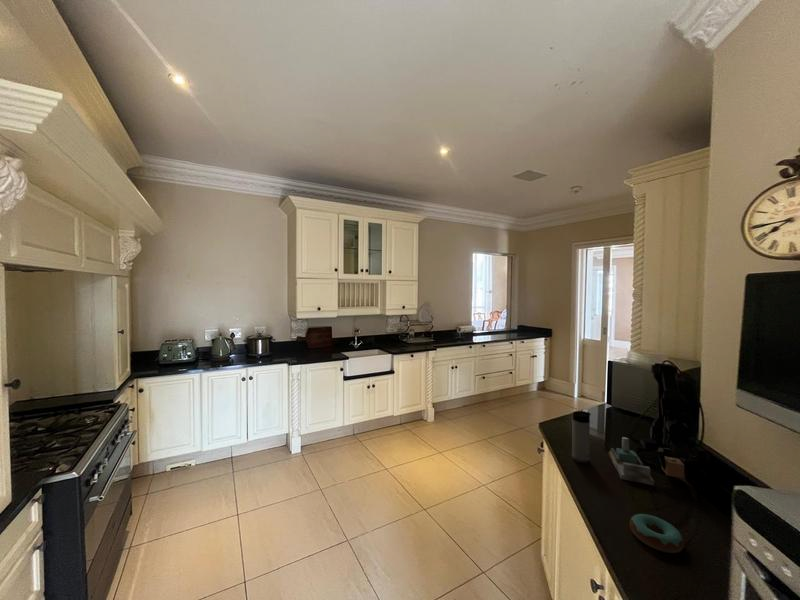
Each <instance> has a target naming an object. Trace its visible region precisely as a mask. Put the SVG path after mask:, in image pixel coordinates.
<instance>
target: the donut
mask: <svg viewBox="0 0 800 600" xmlns="http://www.w3.org/2000/svg"><path fill="white" fill-rule="evenodd" d="M629 528H630V529H631V532H632V533H633V534H634V536H635V538H637V539H638V540H639V541H640V542H642V543H643V544H644V545H647V546H648V547H650V548H652V549H654V550H657V551H660V552H662V553H666V554H667V553H668V554H676V553H680V552H682V551H683V549H684V547H685V540H684V537H683V535H682V534H681V532H680V531H679V530H678V529H677V528H676V527H675V526H674V525H673V524H671V523H670V522H667V521H665V520H664V519H662V518H660V517H657V516H655V515H651V514H647V513H638V514H634V515H633V516H631V517H630V520H629Z"/></svg>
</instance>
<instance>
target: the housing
mask: <svg viewBox="0 0 800 600" xmlns="http://www.w3.org/2000/svg"><path fill="white" fill-rule="evenodd" d="M661 470H662V471H663V472H664V474H665V475H666V476H668V477H674V478H678V479H685V470H684V464H683V463H682V462H681V461H680V458H677V457H675V458H672V457H666V456H665V470H664V469H663V468H662V467H661Z"/></svg>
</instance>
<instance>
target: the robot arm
mask: <svg viewBox="0 0 800 600" xmlns="http://www.w3.org/2000/svg"><path fill="white" fill-rule="evenodd" d="M650 368H651V369H650V370H651V371H650V372H651V374H652V377H653V379H654V380H655V382H656V384H657V416H656V418H654V420H653V421H652V425H651V426H650V429H649V436H650V438H648V437H642V438H641V439H640V445H641V446H642V447H643V448H644V450H646V451H650V452H652V453H653V454H654V455H655V456H656V457H658V459H659V462H660V465H661V469H662V468H663V469H664V470H665V456H666V457H672V458H678V459H679V460H680V461H681V462H682V463H683V464H684V471H685V470H686V468H687V466H688V465H689V464H690V463H691V462H693V461H698V460H703V461H709V460H710V455H709V452H708V451H706V450H705V449H704V448H703V447H702V446H701V445H695V444H690V443H687V441H686V440H688V439H689V438H690V436H691V430H690V429H689V427H688V425H686V421H685V420H687V421H691V418H692V416H693V415H692V414H693V413H692V409H691V404H689V401H687V399H686V396H685V395H684V394H683V393H682V392H681V391H680V390H679V385H678V381H677V377H678V376H679V368H678V366H674V365H673V364H668V363H659V362H658V363H656V362H655V363H654V364H651V367H650Z"/></svg>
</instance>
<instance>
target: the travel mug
mask: <svg viewBox="0 0 800 600" xmlns="http://www.w3.org/2000/svg"><path fill="white" fill-rule="evenodd" d="M591 415H592V414H591V413H590V412H589V411H583V410H578V411H577V410H576V411H574V412H572V433H571V434H572V435H571V436H572V437H571V439H572V440H571V441H572V442H571V459H572V460H574V461H575V462H578V463H579V464H581V463H582V464H588V463H589V462H590V434H591V433H590V432H591V431H590V430H591V429H590V427H591V426H590V425H591V423H590V422H591V420H590V417H591Z"/></svg>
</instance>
